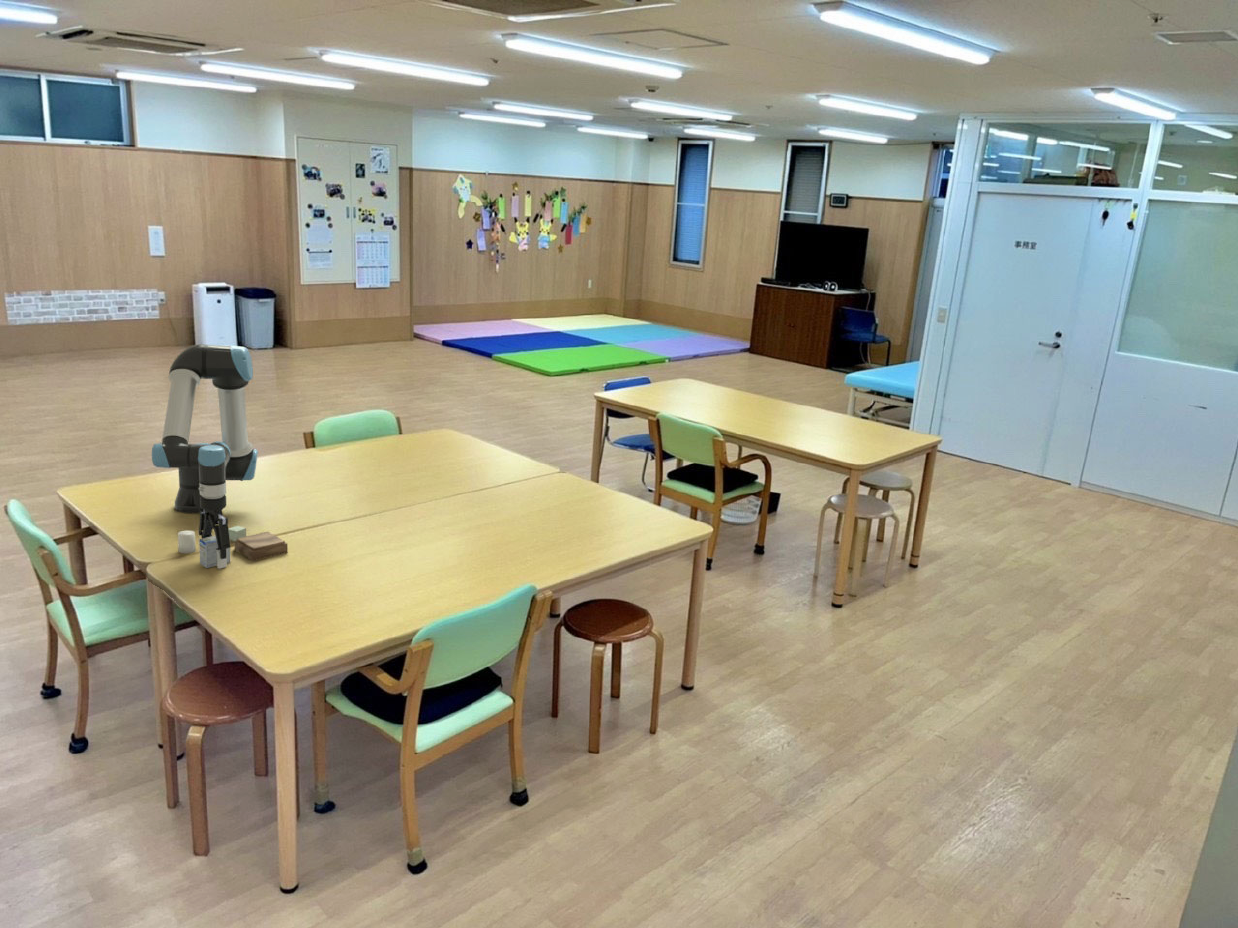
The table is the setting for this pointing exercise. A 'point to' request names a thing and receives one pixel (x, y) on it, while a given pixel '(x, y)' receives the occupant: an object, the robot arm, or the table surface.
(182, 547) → the white rounded capsule
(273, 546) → the podium
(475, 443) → the table surface
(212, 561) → the medicine box
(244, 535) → the sage block
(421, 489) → the table surface
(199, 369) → the robot arm
